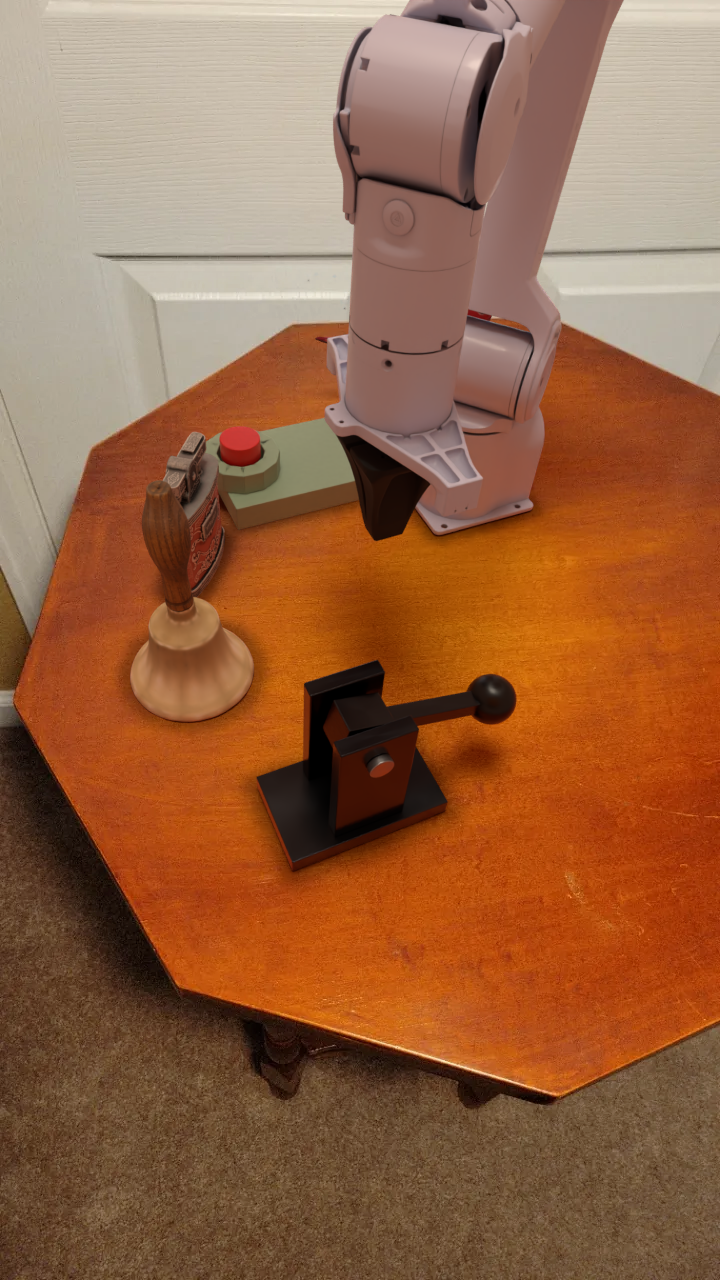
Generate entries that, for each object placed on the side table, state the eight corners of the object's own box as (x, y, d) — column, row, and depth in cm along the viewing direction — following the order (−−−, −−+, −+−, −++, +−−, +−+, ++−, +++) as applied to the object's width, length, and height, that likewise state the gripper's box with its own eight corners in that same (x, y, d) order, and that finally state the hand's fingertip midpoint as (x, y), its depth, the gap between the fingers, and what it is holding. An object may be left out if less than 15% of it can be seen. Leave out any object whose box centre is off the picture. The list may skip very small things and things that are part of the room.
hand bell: (147, 738, 51) (101, 556, 39) (118, 645, 56) (68, 457, 44) (271, 700, 54) (263, 518, 42) (232, 614, 58) (216, 428, 46)
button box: (341, 434, 73) (343, 396, 70) (384, 494, 68) (388, 455, 65) (192, 467, 69) (187, 427, 66) (225, 533, 64) (221, 494, 61)
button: (253, 440, 66) (252, 422, 65) (266, 463, 64) (265, 445, 63) (215, 448, 65) (213, 430, 64) (228, 471, 63) (226, 453, 62)
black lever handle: (488, 692, 50) (507, 660, 48) (513, 730, 48) (534, 697, 46) (317, 725, 44) (331, 689, 42) (339, 768, 43) (354, 734, 41)
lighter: (200, 605, 59) (186, 498, 51) (156, 596, 59) (135, 489, 51) (233, 533, 64) (225, 427, 56) (192, 526, 64) (179, 419, 57)
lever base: (401, 735, 53) (419, 637, 45) (445, 811, 49) (472, 719, 42) (256, 786, 49) (249, 691, 42) (292, 871, 46) (291, 784, 39)
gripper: (276, 269, 42) (281, 475, 53) (401, 422, 34) (377, 630, 45) (395, 251, 45) (377, 452, 55) (539, 390, 36) (486, 596, 47)
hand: (384, 530), depth 50 cm, fingers closed
